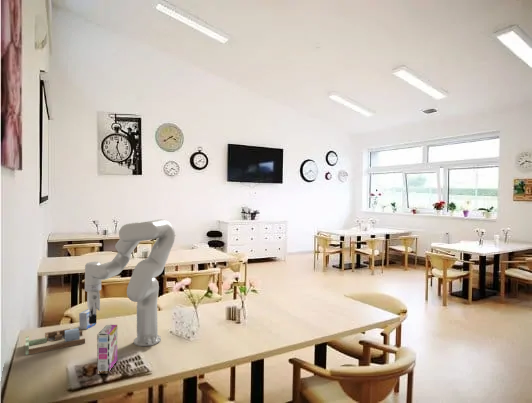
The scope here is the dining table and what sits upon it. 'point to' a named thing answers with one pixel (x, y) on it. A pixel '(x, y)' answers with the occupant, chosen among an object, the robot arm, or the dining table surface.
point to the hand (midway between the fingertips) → (92, 323)
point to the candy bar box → (107, 348)
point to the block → (72, 334)
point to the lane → (52, 336)
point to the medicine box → (85, 320)
